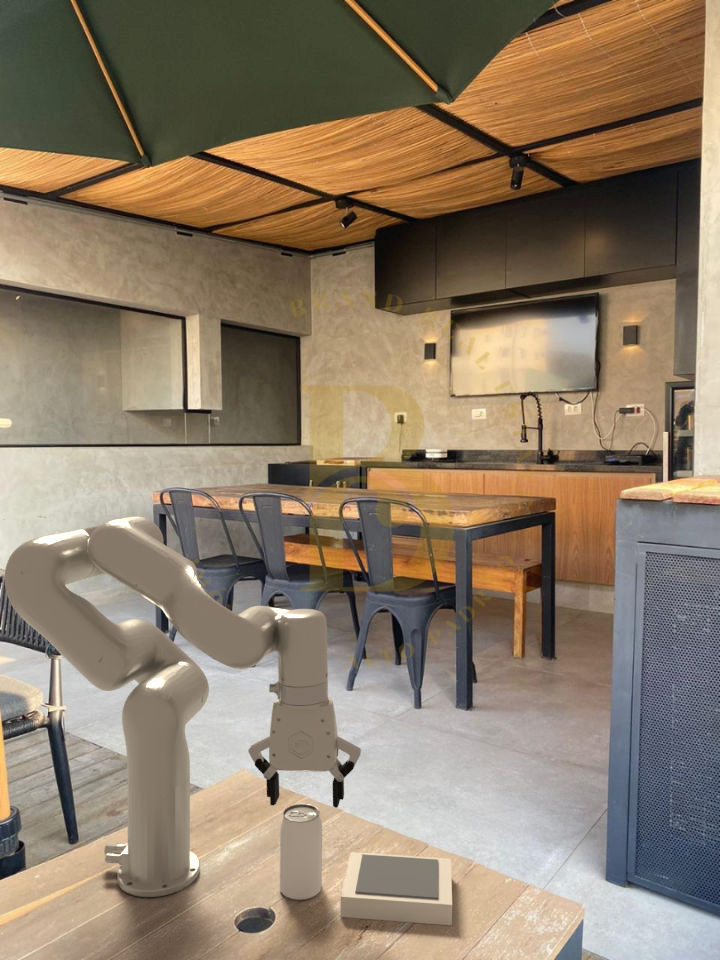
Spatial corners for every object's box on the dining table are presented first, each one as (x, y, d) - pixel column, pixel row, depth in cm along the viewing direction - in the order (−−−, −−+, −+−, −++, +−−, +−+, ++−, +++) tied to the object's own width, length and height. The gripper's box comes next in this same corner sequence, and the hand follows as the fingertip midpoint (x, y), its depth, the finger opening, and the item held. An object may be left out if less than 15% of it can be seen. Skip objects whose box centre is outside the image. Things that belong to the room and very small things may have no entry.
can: (315, 904, 109) (316, 825, 108) (274, 898, 110) (274, 820, 110) (326, 879, 115) (326, 804, 115) (286, 874, 116) (287, 800, 116)
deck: (340, 916, 106) (340, 894, 106) (350, 870, 118) (350, 850, 118) (451, 925, 104) (452, 902, 104) (450, 877, 116) (450, 856, 116)
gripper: (241, 698, 109) (244, 812, 109) (357, 700, 107) (359, 816, 107) (254, 683, 116) (256, 789, 117) (362, 685, 114) (364, 793, 115)
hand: (305, 802), depth 112 cm, fingers open, 9 cm apart
